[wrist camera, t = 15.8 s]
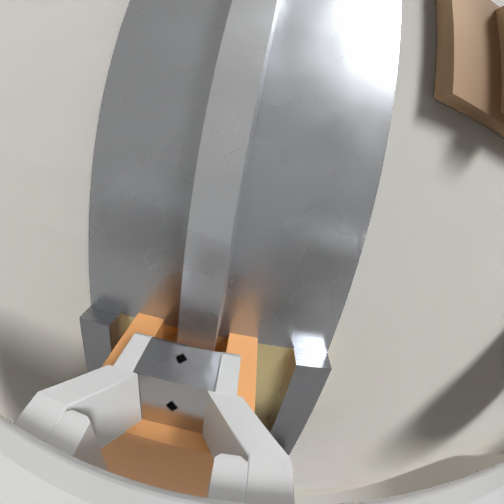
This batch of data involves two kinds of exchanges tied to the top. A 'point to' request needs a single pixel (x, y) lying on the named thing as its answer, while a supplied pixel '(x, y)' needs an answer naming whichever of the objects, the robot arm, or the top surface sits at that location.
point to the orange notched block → (172, 438)
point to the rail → (240, 180)
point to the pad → (471, 60)
